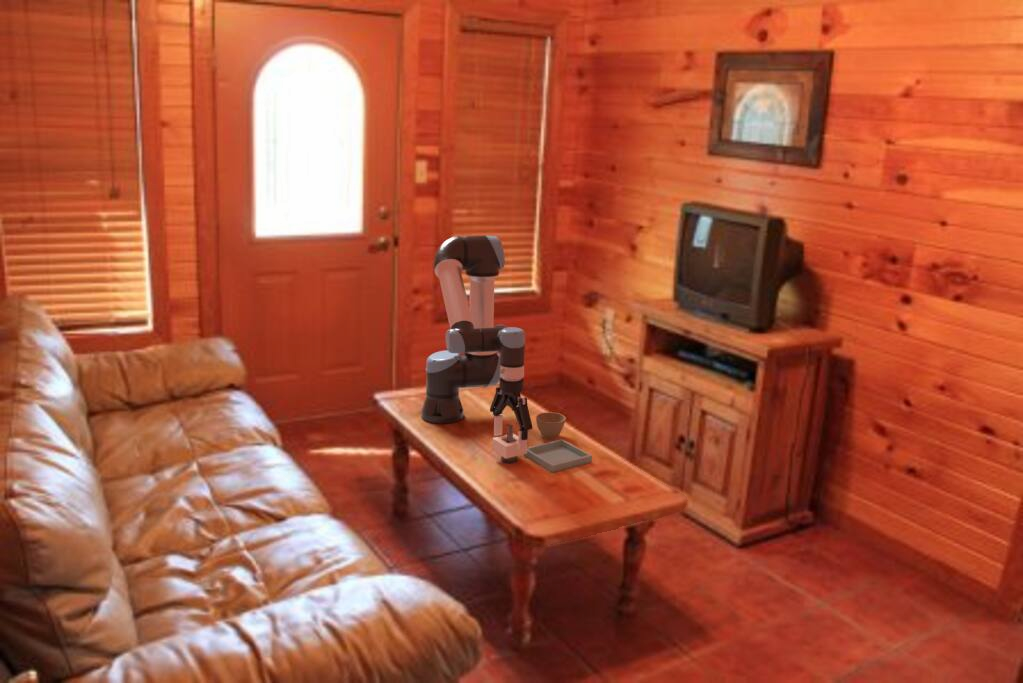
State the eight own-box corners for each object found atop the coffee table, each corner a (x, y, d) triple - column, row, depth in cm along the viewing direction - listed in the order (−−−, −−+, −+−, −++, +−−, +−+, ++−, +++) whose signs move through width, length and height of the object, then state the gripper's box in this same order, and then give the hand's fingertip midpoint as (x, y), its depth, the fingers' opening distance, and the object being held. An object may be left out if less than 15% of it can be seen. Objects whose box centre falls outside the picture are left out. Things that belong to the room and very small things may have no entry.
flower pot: (562, 443, 291) (563, 423, 289) (532, 440, 293) (533, 421, 291) (566, 432, 300) (567, 413, 298) (538, 430, 302) (538, 410, 300)
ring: (491, 449, 277) (492, 438, 276) (512, 444, 282) (512, 433, 280) (505, 458, 271) (506, 446, 270) (526, 453, 275) (527, 441, 274)
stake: (498, 459, 278) (499, 424, 274) (511, 455, 280) (512, 421, 277) (506, 464, 274) (508, 429, 270) (519, 461, 276) (521, 426, 273)
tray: (523, 455, 281) (523, 448, 280) (561, 445, 290) (562, 439, 289) (552, 473, 269) (552, 465, 268) (591, 462, 277) (592, 455, 277)
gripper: (479, 369, 277) (478, 431, 283) (525, 390, 257) (523, 457, 263) (499, 365, 281) (498, 427, 287) (545, 386, 261) (543, 452, 267)
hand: (509, 441), depth 275 cm, fingers open, 13 cm apart
